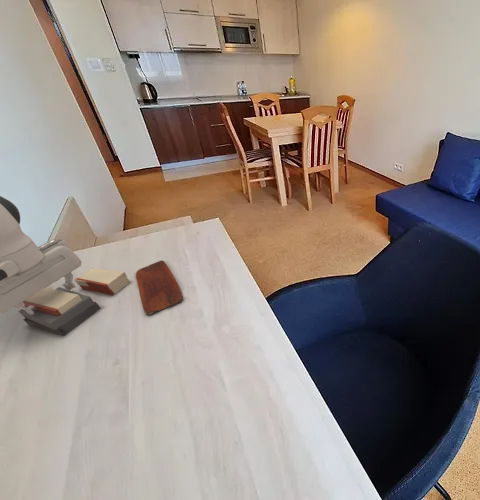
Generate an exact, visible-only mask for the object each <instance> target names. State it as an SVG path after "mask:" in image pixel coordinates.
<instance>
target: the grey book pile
mask: <svg viewBox="0 0 480 500" xmlns="http://www.w3.org/2000/svg"><path fill="white" fill-rule="evenodd" d="M54 289H55V290H60V291H64V292H69V293H73V294H78V295H79V296H80V297H81V299H82V301H80V302H79V303H78V304H76V305H75V306H73V307H72V308H70V309H69V310H67V311H66V312H65V313H63V314H62V315H60V316H56V315H52V314H48V313H44V312H40V311H38V312H36V313H35V314H33V315H30V314H28V313H27V312H26V311H25V310H22V309H19V310H18V311H17V312H18V313H19V314H20V315H21V316H22V317H23V319H22V320H23V322H25V324H27V326H29V327H31V328H35V329H39V330H41V331H44V332H49V333H51V334H52V333H53V334H57V335H60V336H63V337H65V336H66V335H67V334H69V333H70V332H72V331H73V330H75V328H77V327H78V326H80V325H81V324H82V323H83V322H85V321H86V320H88V318H90V317H91V316H93V315H94V314H95V313H96V312H98V311H99V310H101V307H100V305H99V304H98V303H97V301H94V299H92V297H91V296H89V295H87V294H86V295H85V294H82V293H79V292H77V291H73V290H67V289H66V288H65V287H60V286H58V287H57V288H54Z"/></svg>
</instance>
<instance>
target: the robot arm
mask: <svg viewBox="0 0 480 500" xmlns="http://www.w3.org/2000/svg"><path fill="white" fill-rule="evenodd" d="M81 266H82V260H81V259H80V257H79V256H78V255H77V254H76V253H75V252H74V251H73V250H72V249H71V247H70V245H69V244H68V242H67V241H66V240H65V239H62V238H54V239H50V241H48V242H46V243H43V244H41V245H40V246H38V245H37V244H36V243H35V242H34V240H33V239H32V238H31V237H30V236H28V235H27V234H25V232H24V231H23V230H22V228H21V213H20V211H19V208H18V207H17V206H16V205H15V204H14V203H13V202H12V201H10V200H8V199H7V198H6V197H3V196H1V195H0V315H3V314H6V313H7V312H8V311H11V310H12V309H14V308H15V309H17V310H18V309H19V310H21V309H22V310H25V311H26V312H27V313H28V314H30V315H33V314H35V313H36V312H38V311H39V310H38V309H36V307H35V306H31V305H30V306H28V307H25V306H24V305H25V304H24V303H23V301H25V300H26V299H28V298H30V297H31V296H33V295H34V294H36V293H38V292H39V291H41V290H43V289H44V288H48V287H49V286H51V285H52V284H54V283H56V282H57V281H59V280H60V279H62V278H64V283H63V284H62V286H63V288H64V289H67V290H70V291H72V289H74V288H75V287H76V285H75V283H74V281H73V279H74V274H73V273H72V272H73V271H75V270H77V269H78V268H80V267H81Z"/></svg>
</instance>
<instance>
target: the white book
mask: <svg viewBox="0 0 480 500" xmlns="http://www.w3.org/2000/svg"><path fill="white" fill-rule="evenodd" d="M55 289H56V288H50V287H46V288H44V289H43V290H41V291H39V292H38V293H36V294H34V295H33V296H31V297H30V298H28V299H26V300H25V301H23V303H24V304H25V305H24V306H23V307H28V306H30V305H31V306H35V307H36V309H38V310H39V311H40V312H44V313H48V314H52V315H56V316H60V315H62V314H63V313H65V312H66V311H67V310H69V309H70V308H72V307H73V306H75V305H76V304H78V303H79V302H80V301H82V299H81V297H80V296H79V295H78V294H73V293H69V292H64V291H60V290H55Z"/></svg>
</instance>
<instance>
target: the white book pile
mask: <svg viewBox="0 0 480 500" xmlns="http://www.w3.org/2000/svg"><path fill="white" fill-rule="evenodd" d="M74 282H75V283H76V284H77V285H78V286H79V287H80V288H81V289H82V290H84V291H88V292H93V293H98V294H102V295H108V296H113V297H114V296H115V294H117V293H119V291H121V290H122V289H124V288H125V287H126V286H127V285H129V284H130V283H131V282H130V280H129V278H128V276H127V274H126V272H125V271H119V270H111V269H104V268H98V267H97V268H96V267H91V268H90V269H88V270H87V271H86V272H84V273H83V274H80V275H79V276H77V277H76V278H75V279H74Z"/></svg>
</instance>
